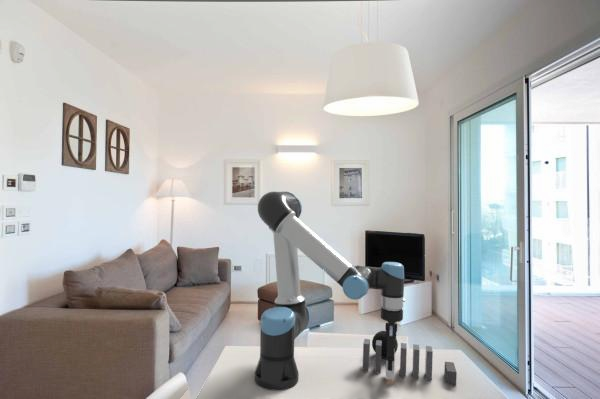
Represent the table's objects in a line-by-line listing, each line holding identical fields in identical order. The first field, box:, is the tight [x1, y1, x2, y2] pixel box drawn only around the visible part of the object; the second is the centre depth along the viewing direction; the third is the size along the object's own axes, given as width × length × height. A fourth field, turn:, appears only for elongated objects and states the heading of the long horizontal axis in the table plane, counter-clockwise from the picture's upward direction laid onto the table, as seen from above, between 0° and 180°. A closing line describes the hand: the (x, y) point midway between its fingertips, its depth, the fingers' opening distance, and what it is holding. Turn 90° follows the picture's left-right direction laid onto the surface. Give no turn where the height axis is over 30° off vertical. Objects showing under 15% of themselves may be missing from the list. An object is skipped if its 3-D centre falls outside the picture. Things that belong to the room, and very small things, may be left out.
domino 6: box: [424, 345, 434, 381], centre depth 141 cm, size 2×5×10 cm, turn 165°
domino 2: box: [374, 340, 383, 374], centre depth 145 cm, size 2×5×10 cm, turn 166°
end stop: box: [443, 361, 457, 386], centre depth 139 cm, size 3×8×4 cm, turn 166°
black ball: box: [371, 330, 399, 358], centre depth 157 cm, size 10×10×10 cm
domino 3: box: [386, 379, 394, 385], centre depth 137 cm, size 2×5×10 cm, turn 166°
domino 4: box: [399, 342, 408, 377], centre depth 143 cm, size 2×5×10 cm, turn 166°
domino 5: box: [411, 343, 420, 379], centre depth 142 cm, size 2×5×10 cm, turn 166°
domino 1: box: [362, 338, 371, 372], centre depth 146 cm, size 2×5×10 cm, turn 165°
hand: (390, 372), depth 137 cm, fingers open, 9 cm apart
